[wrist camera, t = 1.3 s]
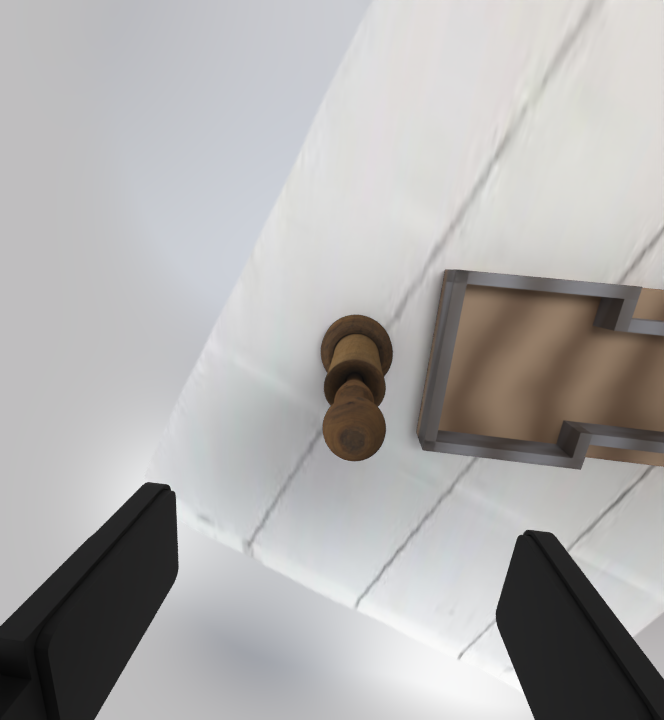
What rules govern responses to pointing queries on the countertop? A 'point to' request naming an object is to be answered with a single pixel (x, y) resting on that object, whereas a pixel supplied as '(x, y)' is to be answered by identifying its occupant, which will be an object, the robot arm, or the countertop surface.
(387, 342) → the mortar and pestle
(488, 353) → the keyhole board
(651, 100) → the countertop surface
